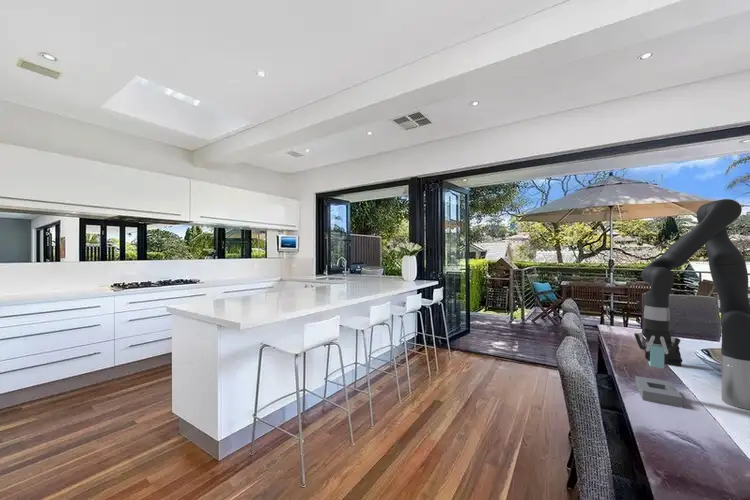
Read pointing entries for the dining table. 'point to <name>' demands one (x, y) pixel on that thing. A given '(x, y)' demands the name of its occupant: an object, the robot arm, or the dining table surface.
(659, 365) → the teal rectangular block
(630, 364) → the dining table surface
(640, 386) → the grey slotted block
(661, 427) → the dining table surface
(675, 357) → the black ridged block
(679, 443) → the dining table surface
